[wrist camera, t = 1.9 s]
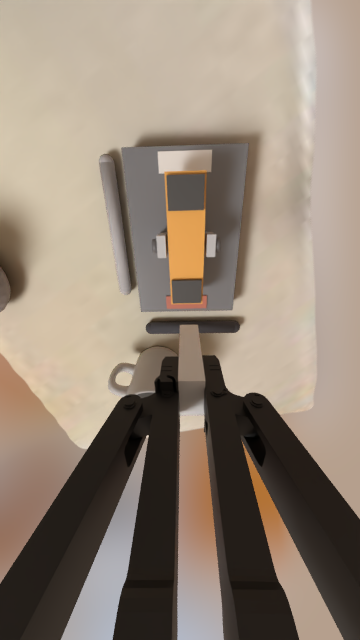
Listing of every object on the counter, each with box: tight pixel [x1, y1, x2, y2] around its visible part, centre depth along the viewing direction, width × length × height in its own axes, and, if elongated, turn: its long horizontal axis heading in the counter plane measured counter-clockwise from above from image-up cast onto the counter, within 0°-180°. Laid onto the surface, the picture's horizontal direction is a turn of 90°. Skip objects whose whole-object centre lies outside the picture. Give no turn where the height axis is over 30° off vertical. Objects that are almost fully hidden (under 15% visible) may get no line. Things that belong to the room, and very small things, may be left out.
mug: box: [108, 346, 178, 398], centre depth 35 cm, size 12×8×11 cm
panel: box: [122, 143, 249, 312], centre depth 27 cm, size 20×14×8 cm
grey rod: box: [99, 154, 131, 295], centre depth 29 cm, size 18×2×2 cm, turn 1°
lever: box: [164, 170, 207, 304], centre depth 24 cm, size 14×4×3 cm, turn 1°
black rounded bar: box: [146, 321, 240, 334], centre depth 36 cm, size 2×16×2 cm, turn 91°
